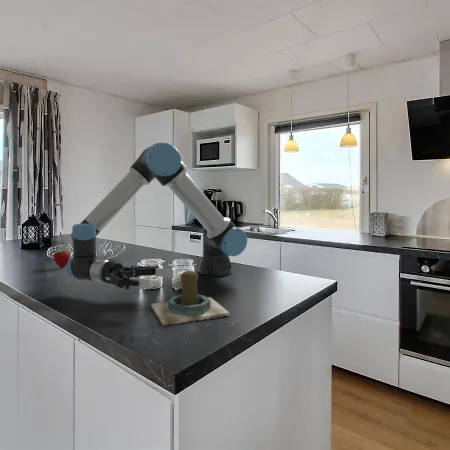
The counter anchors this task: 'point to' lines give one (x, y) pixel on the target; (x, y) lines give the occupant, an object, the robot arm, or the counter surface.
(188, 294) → the cork
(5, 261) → the counter surface
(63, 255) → the strawberry
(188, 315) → the ring stand
